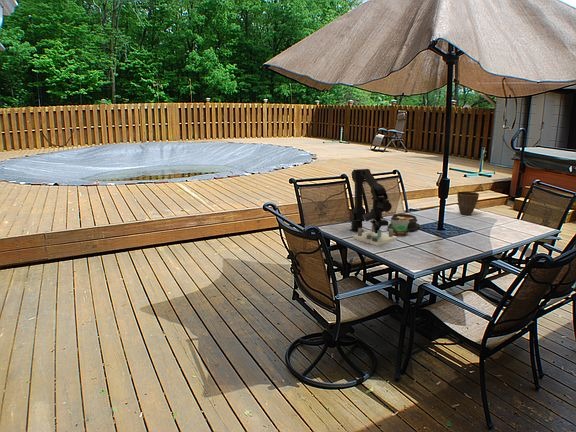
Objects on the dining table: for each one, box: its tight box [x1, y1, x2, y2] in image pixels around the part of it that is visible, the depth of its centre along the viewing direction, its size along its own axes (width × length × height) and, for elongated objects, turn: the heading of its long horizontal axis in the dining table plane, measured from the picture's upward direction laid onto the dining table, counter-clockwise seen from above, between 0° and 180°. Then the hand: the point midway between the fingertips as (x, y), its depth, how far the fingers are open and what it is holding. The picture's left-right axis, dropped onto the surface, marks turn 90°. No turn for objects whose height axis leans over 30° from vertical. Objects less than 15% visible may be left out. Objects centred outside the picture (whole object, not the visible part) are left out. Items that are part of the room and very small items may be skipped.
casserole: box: [386, 213, 421, 232], centre depth 282 cm, size 25×19×8 cm
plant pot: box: [456, 191, 480, 217], centre depth 319 cm, size 15×15×16 cm
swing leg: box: [367, 229, 383, 239], centre depth 255 cm, size 9×3×5 cm, turn 81°
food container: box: [390, 218, 409, 237], centre depth 267 cm, size 12×6×10 cm, turn 105°
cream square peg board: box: [352, 223, 398, 247], centre depth 260 cm, size 18×18×6 cm
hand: (375, 233), depth 256 cm, fingers closed
